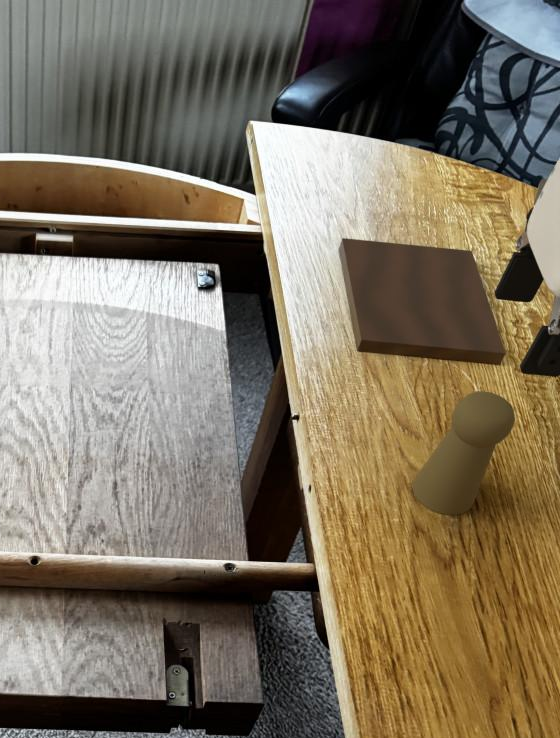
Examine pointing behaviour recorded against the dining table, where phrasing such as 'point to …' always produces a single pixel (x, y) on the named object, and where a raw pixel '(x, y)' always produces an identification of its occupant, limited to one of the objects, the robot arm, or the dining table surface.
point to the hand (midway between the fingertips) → (524, 334)
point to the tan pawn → (464, 453)
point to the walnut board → (419, 302)
